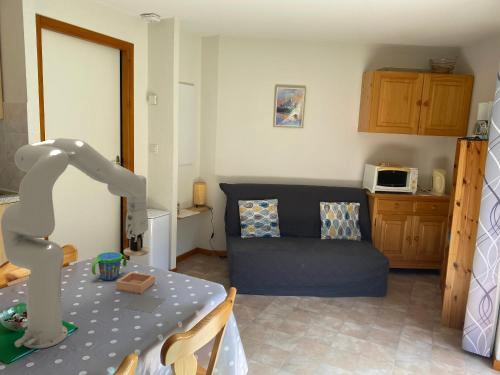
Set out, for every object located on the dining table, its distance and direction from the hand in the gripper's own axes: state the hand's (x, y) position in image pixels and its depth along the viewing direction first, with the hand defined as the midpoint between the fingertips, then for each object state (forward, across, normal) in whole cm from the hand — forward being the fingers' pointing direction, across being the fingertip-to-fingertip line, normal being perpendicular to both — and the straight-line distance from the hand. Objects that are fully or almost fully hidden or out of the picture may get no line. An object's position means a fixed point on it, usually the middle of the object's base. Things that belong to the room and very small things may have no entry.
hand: (136, 248), depth 156 cm
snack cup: (+17, +5, +16) cm, 24 cm away
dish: (+17, 0, 0) cm, 17 cm away
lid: (+1, 0, 0) cm, 1 cm away
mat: (+17, -12, -11) cm, 23 cm away
